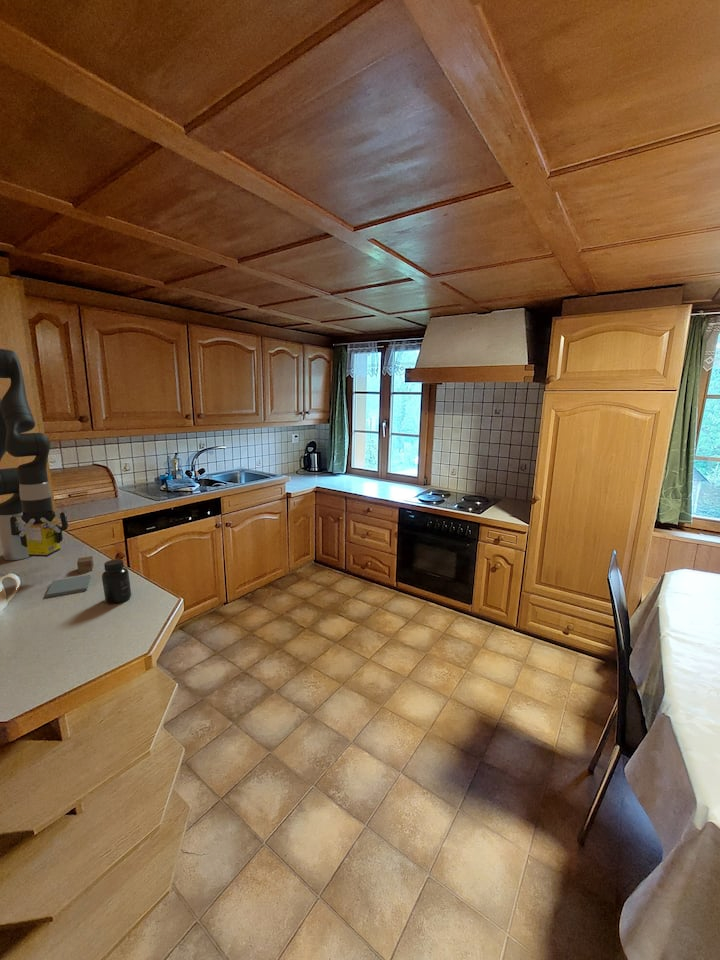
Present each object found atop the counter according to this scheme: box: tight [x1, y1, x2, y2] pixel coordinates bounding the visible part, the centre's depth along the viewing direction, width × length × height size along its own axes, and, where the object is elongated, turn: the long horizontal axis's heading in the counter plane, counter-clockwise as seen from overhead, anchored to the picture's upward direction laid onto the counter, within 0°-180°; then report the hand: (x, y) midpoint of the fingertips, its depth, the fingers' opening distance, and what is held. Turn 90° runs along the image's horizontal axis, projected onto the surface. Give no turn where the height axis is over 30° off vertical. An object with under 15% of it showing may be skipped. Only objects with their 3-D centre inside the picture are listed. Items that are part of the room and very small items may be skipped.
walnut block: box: [76, 555, 94, 573], centre depth 136 cm, size 4×4×4 cm
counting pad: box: [45, 574, 91, 598], centre depth 124 cm, size 10×10×1 cm
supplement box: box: [24, 519, 61, 558], centre depth 127 cm, size 6×6×11 cm
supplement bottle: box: [101, 558, 132, 605], centre depth 117 cm, size 7×7×12 cm
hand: (43, 544), depth 127 cm, fingers closed on supplement box, 8 cm apart
